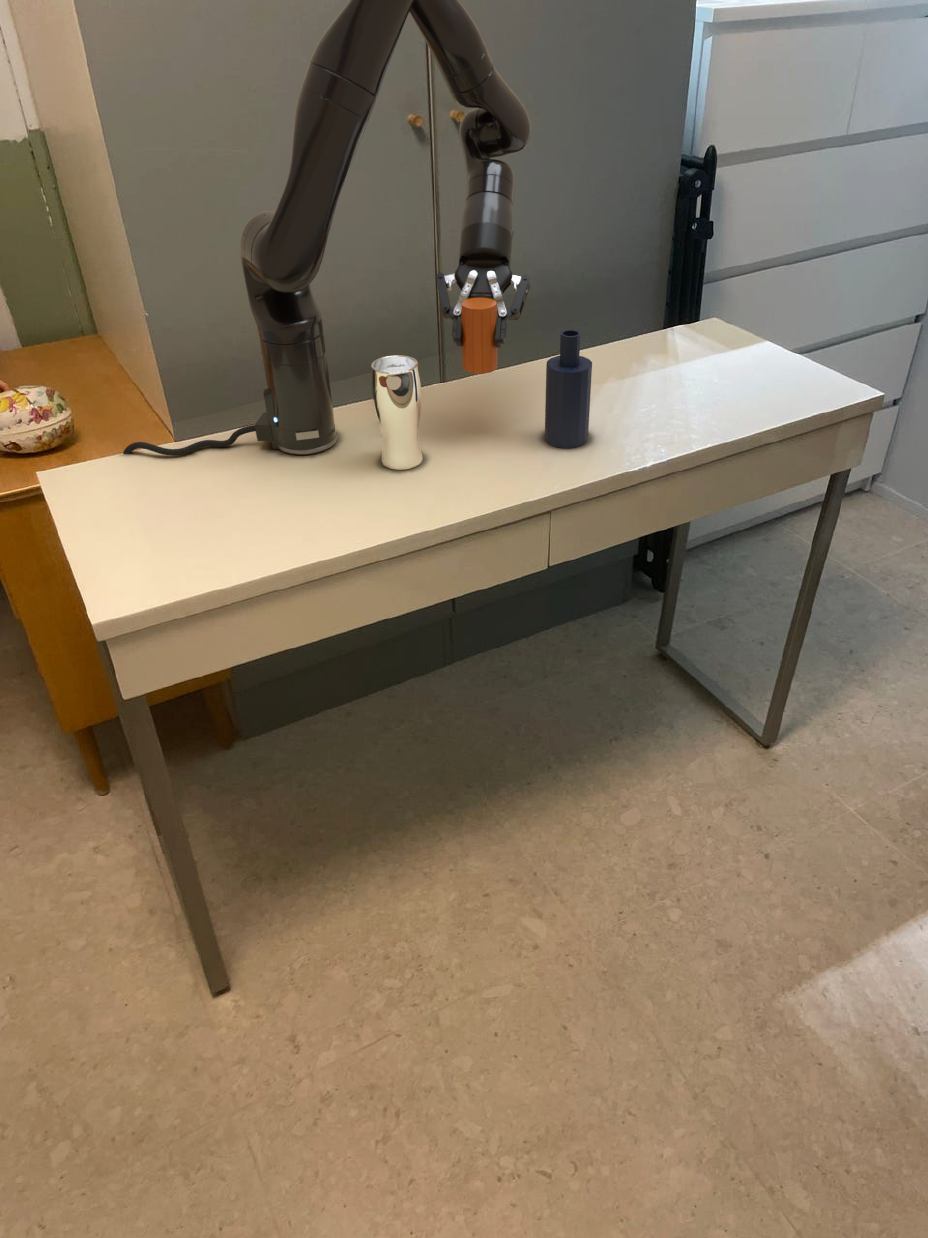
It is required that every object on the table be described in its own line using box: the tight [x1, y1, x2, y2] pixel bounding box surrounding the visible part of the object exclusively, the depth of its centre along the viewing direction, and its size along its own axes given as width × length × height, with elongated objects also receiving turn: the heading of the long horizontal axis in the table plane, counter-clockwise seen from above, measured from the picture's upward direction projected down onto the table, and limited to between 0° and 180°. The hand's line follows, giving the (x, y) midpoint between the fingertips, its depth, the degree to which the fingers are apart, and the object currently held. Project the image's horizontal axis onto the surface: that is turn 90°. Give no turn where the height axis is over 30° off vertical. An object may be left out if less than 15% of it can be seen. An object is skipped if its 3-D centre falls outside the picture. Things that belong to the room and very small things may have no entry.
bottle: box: [544, 329, 593, 449], centre depth 138 cm, size 7×7×16 cm
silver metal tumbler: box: [370, 354, 423, 471], centre depth 135 cm, size 7×7×15 cm
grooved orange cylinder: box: [461, 297, 498, 375], centre depth 135 cm, size 5×5×10 cm
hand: (478, 344), depth 134 cm, fingers closed on grooved orange cylinder, 5 cm apart
